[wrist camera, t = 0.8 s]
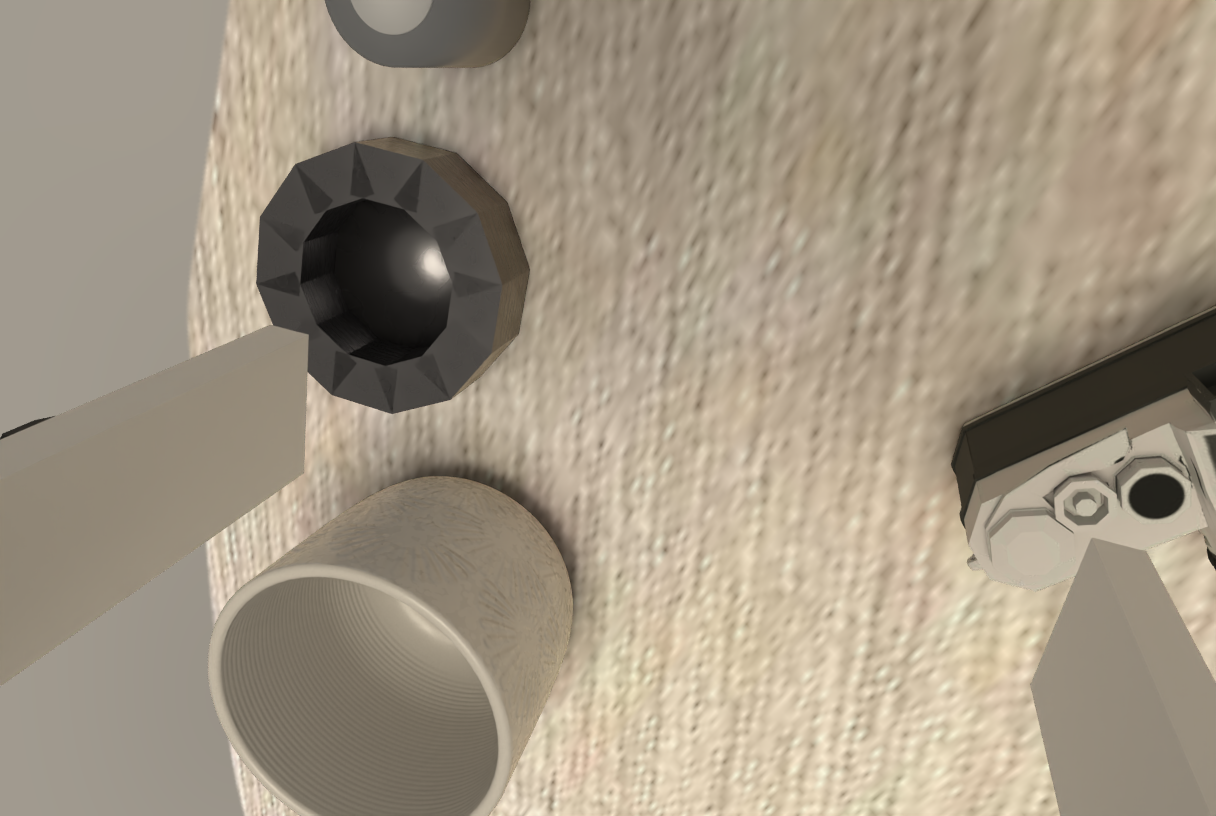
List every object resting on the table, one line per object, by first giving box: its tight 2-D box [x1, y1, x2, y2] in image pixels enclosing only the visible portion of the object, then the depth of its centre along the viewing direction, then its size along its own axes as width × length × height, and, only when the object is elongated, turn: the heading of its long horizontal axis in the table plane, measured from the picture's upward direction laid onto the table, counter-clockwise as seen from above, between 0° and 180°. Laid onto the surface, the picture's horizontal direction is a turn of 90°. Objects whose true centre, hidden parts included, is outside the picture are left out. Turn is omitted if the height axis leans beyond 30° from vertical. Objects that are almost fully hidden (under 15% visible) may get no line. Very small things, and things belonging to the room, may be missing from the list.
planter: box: [208, 476, 573, 816], centre depth 39 cm, size 12×12×11 cm
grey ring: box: [256, 137, 530, 414], centre depth 38 cm, size 10×10×3 cm
